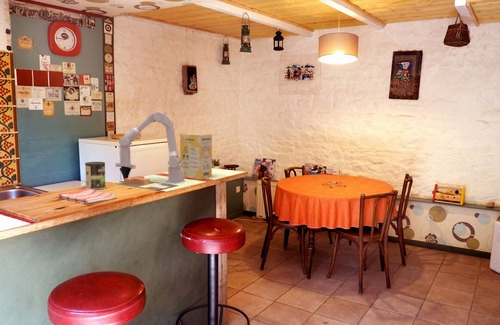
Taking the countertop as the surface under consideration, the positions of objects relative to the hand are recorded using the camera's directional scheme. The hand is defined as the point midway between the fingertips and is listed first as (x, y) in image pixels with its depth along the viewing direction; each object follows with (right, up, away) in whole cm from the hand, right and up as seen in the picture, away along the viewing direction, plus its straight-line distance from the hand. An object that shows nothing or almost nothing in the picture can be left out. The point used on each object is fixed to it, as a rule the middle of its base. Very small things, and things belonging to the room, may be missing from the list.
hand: (125, 179), depth 248 cm
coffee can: (-11, -4, -19) cm, 22 cm away
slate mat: (+15, -3, -8) cm, 17 cm away
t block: (+10, -2, -5) cm, 11 cm away
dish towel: (-6, -8, -43) cm, 45 cm away
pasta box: (+39, +1, +24) cm, 46 cm away
